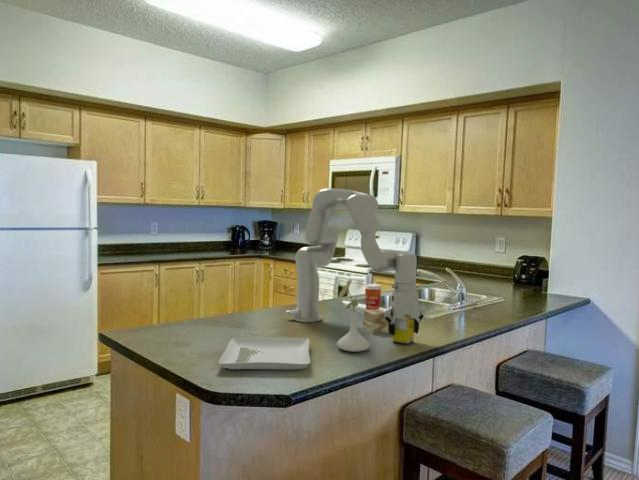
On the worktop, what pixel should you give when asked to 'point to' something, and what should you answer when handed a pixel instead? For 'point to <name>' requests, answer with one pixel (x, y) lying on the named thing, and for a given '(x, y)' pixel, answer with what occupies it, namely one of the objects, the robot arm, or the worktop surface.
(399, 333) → the supplement box
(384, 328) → the birch base block
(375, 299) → the paper cup
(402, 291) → the robot arm
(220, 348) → the worktop surface
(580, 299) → the worktop surface
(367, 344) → the flower in vase
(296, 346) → the square plate
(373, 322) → the maple top block
